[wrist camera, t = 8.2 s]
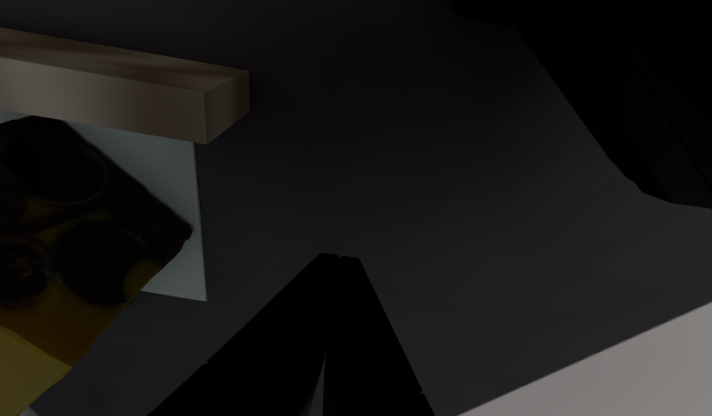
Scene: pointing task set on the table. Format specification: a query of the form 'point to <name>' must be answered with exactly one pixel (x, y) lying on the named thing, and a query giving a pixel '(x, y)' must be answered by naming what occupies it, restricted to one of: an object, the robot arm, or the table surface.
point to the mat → (157, 194)
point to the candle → (67, 252)
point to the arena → (119, 87)
